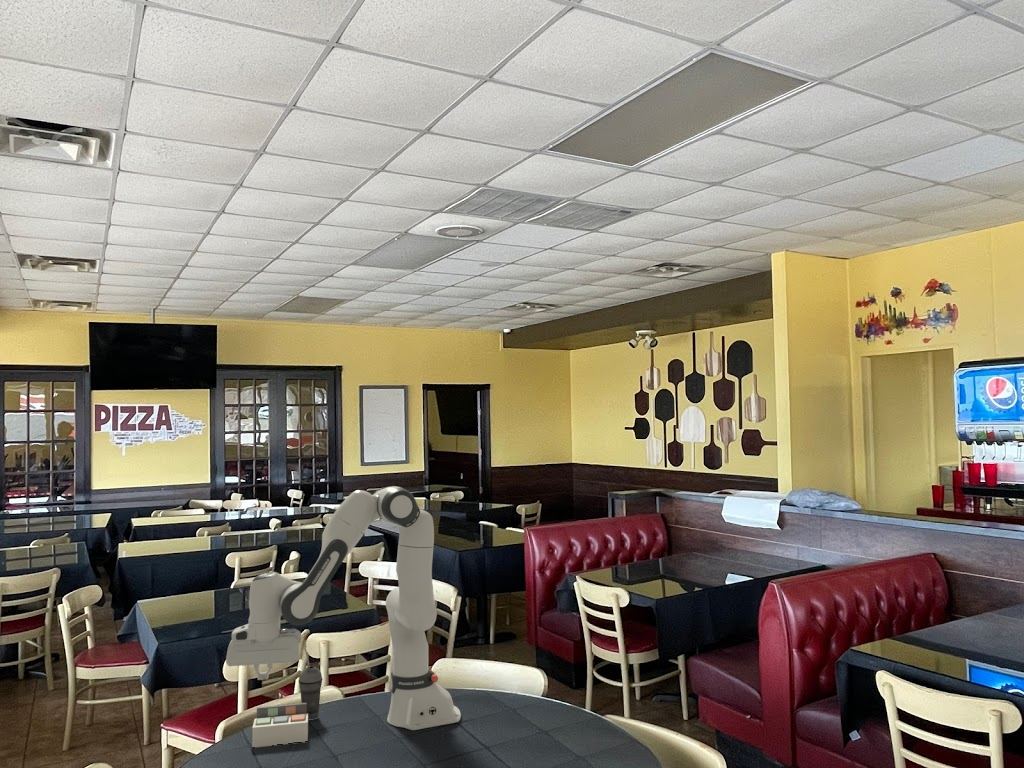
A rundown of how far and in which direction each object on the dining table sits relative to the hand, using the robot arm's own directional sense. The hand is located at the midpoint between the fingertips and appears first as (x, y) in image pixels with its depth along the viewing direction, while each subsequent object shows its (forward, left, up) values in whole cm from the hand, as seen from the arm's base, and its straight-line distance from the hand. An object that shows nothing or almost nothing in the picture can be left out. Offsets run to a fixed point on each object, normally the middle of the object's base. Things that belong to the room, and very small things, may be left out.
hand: (263, 679), depth 219 cm
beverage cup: (-13, -15, -18) cm, 27 cm away
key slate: (-5, 0, -14) cm, 14 cm away
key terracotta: (-10, 0, -14) cm, 17 cm away
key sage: (0, 0, -14) cm, 14 cm away
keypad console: (-5, -1, -18) cm, 18 cm away
